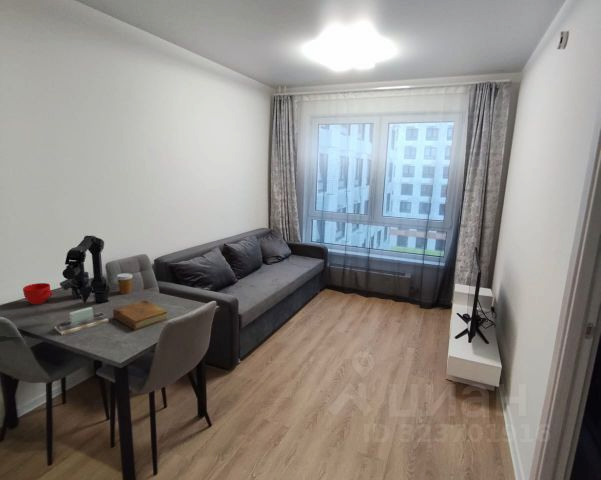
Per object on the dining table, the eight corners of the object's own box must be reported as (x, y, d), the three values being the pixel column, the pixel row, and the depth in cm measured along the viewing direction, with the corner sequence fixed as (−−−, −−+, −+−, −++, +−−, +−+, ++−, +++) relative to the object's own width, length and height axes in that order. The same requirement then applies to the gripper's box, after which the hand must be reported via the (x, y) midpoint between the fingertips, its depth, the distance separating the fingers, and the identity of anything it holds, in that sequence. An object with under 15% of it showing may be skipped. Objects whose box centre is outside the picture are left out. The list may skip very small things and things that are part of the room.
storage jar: (73, 294, 225) (71, 272, 222) (91, 293, 229) (89, 271, 226) (71, 300, 216) (68, 276, 213) (89, 298, 221) (87, 275, 218)
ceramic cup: (43, 308, 203) (41, 292, 201) (18, 305, 206) (16, 288, 204) (62, 300, 215) (60, 285, 213) (39, 297, 218) (37, 282, 216)
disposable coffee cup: (120, 289, 237) (119, 272, 235) (135, 289, 239) (134, 272, 236) (115, 294, 228) (113, 277, 226) (130, 294, 229) (129, 277, 227)
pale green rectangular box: (91, 319, 190) (90, 307, 188) (93, 320, 188) (92, 308, 187) (70, 325, 182) (69, 312, 181) (72, 326, 180) (71, 314, 179)
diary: (113, 319, 195) (112, 309, 194) (145, 309, 209) (145, 300, 208) (134, 331, 181) (134, 321, 180) (167, 320, 196) (167, 310, 195)
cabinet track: (100, 315, 197) (100, 310, 196) (108, 321, 191) (108, 316, 190) (55, 328, 180) (54, 323, 179) (62, 334, 174) (61, 329, 173)
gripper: (53, 271, 184) (57, 299, 188) (67, 280, 173) (71, 310, 176) (77, 267, 193) (80, 294, 196) (92, 275, 181) (94, 303, 185)
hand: (81, 300), depth 188 cm, fingers open, 9 cm apart
